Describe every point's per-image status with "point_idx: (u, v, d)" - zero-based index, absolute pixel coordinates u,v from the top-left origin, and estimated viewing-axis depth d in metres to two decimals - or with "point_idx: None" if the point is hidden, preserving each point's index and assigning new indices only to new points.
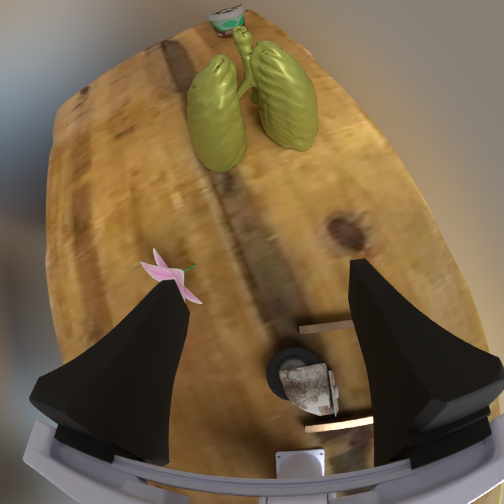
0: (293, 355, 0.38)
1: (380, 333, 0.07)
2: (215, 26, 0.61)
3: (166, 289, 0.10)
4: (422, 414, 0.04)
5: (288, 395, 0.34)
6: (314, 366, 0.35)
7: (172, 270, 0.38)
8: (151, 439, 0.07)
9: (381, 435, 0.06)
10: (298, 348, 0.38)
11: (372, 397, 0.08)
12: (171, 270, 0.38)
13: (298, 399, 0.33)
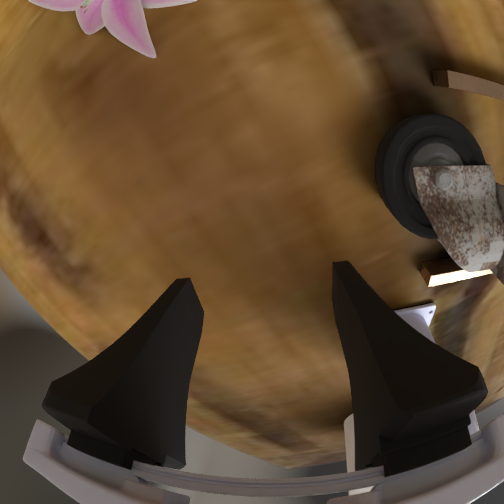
0: (439, 133, 0.12)
1: (357, 337, 0.07)
2: None
3: (182, 288, 0.10)
4: (391, 422, 0.04)
5: (440, 233, 0.13)
6: (479, 169, 0.12)
7: None
8: (169, 442, 0.07)
9: (360, 439, 0.06)
10: (450, 120, 0.12)
11: (353, 401, 0.08)
12: None
13: (457, 245, 0.13)
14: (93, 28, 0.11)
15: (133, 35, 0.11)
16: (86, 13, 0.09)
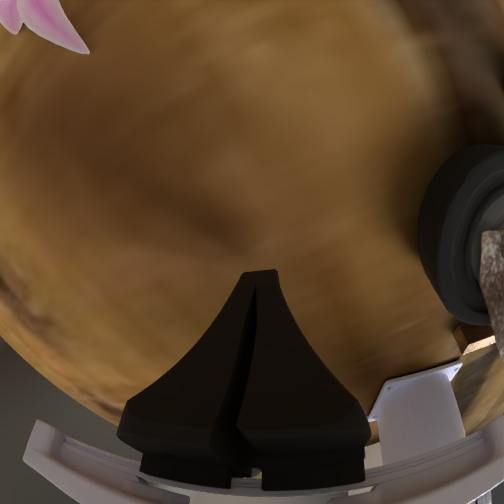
0: None
1: None
2: None
3: (256, 281, 0.10)
4: None
5: (498, 330, 0.07)
6: None
7: None
8: None
9: None
10: None
11: None
12: None
13: None
14: (16, 25, 0.05)
15: (52, 24, 0.05)
16: (3, 7, 0.03)
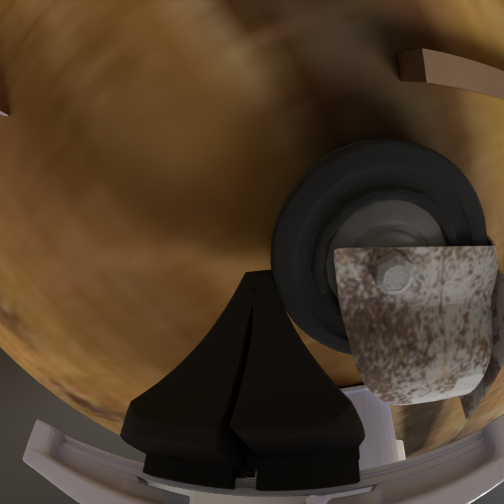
0: (404, 181, 0.07)
1: None
2: None
3: (259, 281, 0.10)
4: None
5: (364, 369, 0.08)
6: (472, 252, 0.07)
7: None
8: None
9: None
10: (431, 155, 0.06)
11: None
12: None
13: (395, 384, 0.08)
14: None
15: None
16: None
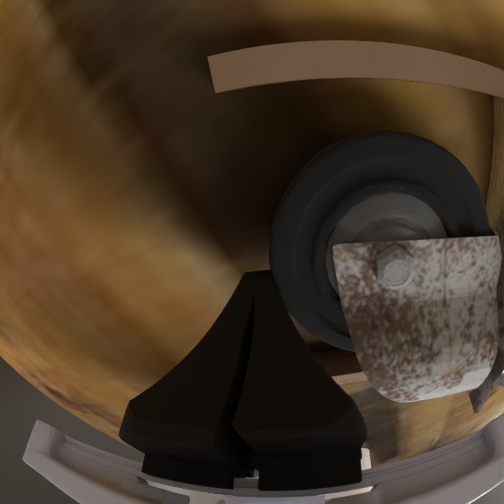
0: (401, 173, 0.07)
1: None
2: None
3: (258, 281, 0.10)
4: None
5: (368, 366, 0.08)
6: (475, 243, 0.07)
7: None
8: None
9: None
10: (427, 145, 0.06)
11: None
12: None
13: (401, 381, 0.08)
14: None
15: None
16: None
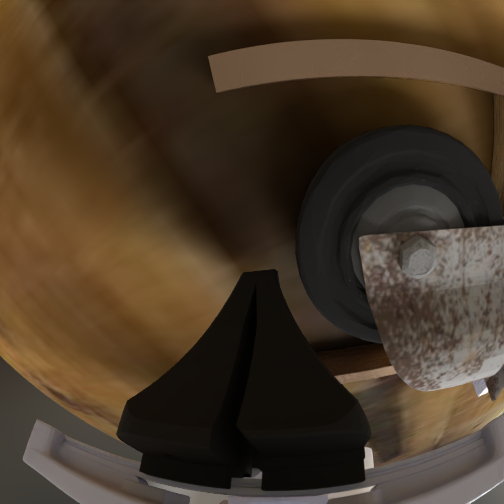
0: (421, 165, 0.07)
1: None
2: None
3: (256, 281, 0.10)
4: None
5: (394, 356, 0.08)
6: (490, 232, 0.07)
7: None
8: None
9: None
10: (445, 139, 0.06)
11: None
12: None
13: (425, 369, 0.08)
14: None
15: None
16: None
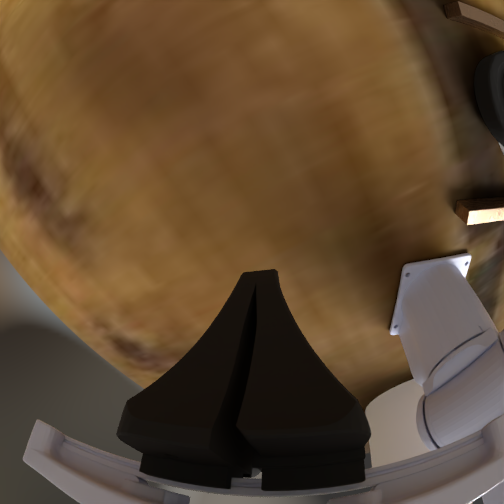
0: None
1: None
2: None
3: (256, 281, 0.10)
4: None
5: None
6: None
7: None
8: None
9: None
10: None
11: None
12: None
13: None
14: None
15: None
16: None
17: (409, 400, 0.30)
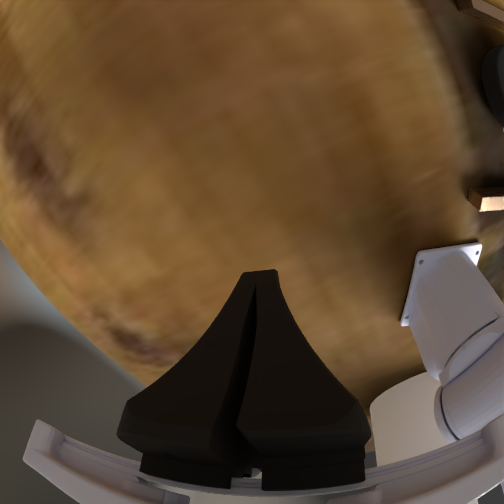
0: None
1: None
2: None
3: (256, 281, 0.10)
4: None
5: None
6: None
7: None
8: None
9: None
10: None
11: None
12: None
13: None
14: None
15: None
16: None
17: (415, 395, 0.30)
